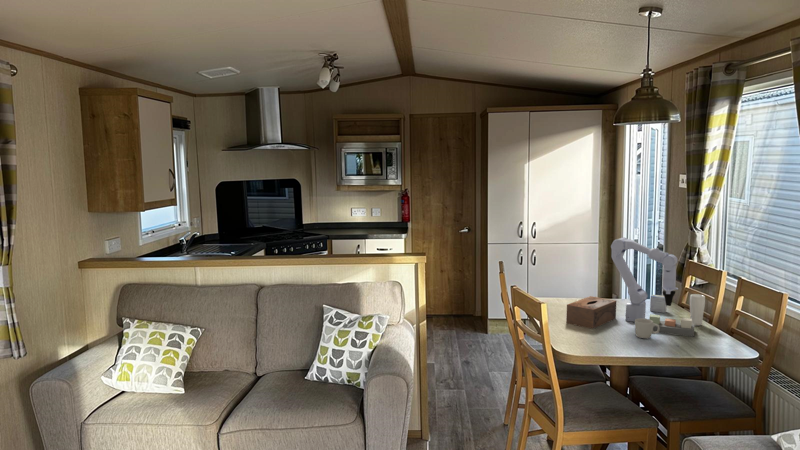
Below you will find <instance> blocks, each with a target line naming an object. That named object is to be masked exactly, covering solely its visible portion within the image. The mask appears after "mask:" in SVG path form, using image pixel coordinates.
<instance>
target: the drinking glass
mask: <svg viewBox="0 0 800 450" xmlns="http://www.w3.org/2000/svg"><path fill="white" fill-rule="evenodd" d="M705 305H706V296H705V295H703V294H701V293H700V294H699V293H697V294H696V293H693V294H692V293H691V294H690V295H689V315H690V318H689V319H692V324H693V325H695V326H702V325H703V318H704V312H705Z"/></svg>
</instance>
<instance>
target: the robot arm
mask: <svg viewBox="0 0 800 450" xmlns="http://www.w3.org/2000/svg"><path fill="white" fill-rule="evenodd" d="M610 248H611V259H612V261H613V264H614V265H615V267H616V269H617V271H618V273H619V275H620V277H621V278H622V280H623V282H624V284H625V285H626V287H627V293H628V295H629V301H630V302H626V305H625V321H626V322H627V321H628V322H632V323H633V322H634V323H635V319H640V318H642V319H647V317H646V306H647V304H646V300H647V299H648V297H649V296H648V293H647V291H645V290H644V289H643V288H642V286H641V285H640V284H638V282H637V281H636V278H635V277H634V275H633V273H632V271H631V269H630V267H629V265H628V263H627V262H626V260H625V258H624V256H625V254H626V251H627V250H634V251H637V252H640V253H642V254H644V255H646V256H647V257H648V258H649V259H650V260H653V261H655V262H657V263H659V264H662V265H663V273H662V274H663V277H662V290H663V291H662V296H664V297H665V302H666V306H667V307H672V303H673V298H674V296H675V294H676V290H677V291H678V290H679V288H678V287H676V283H677V280H676V279H677V278H676V277H677V264H678V260H679V259H678V257H677V256H676V254H675V255H674V254H673V253H669V252H665V251H663V250H660V248H659V247H653V248H649V247H647V246H645V245H643V244H641V243H639V242H637V241H635V240H632V239H630V238H627V237H620V238H616V239H614V240H613V241H612V243H611V245H610Z"/></svg>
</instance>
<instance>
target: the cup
mask: <svg viewBox="0 0 800 450" xmlns="http://www.w3.org/2000/svg"><path fill="white" fill-rule="evenodd" d="M634 326H635V336H636V337H637V338H640V339H650V338H651V337H652V335H654V334H658V333H660V332H659V330H660V328H659V325H657V324H655V323H653V321H652V320H649V318H646V319H642V318H640V319H635V322H634ZM654 326H657V328H658V330H657V331H656V332H654V331H653V327H654Z"/></svg>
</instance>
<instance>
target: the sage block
mask: <svg viewBox="0 0 800 450" xmlns="http://www.w3.org/2000/svg"><path fill="white" fill-rule="evenodd" d="M648 319H649V320H652V321H653V323H655V324H658V325H660V321H661V315H659V314H654V313H653V314H652V313H650V315H649V318H648Z"/></svg>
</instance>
